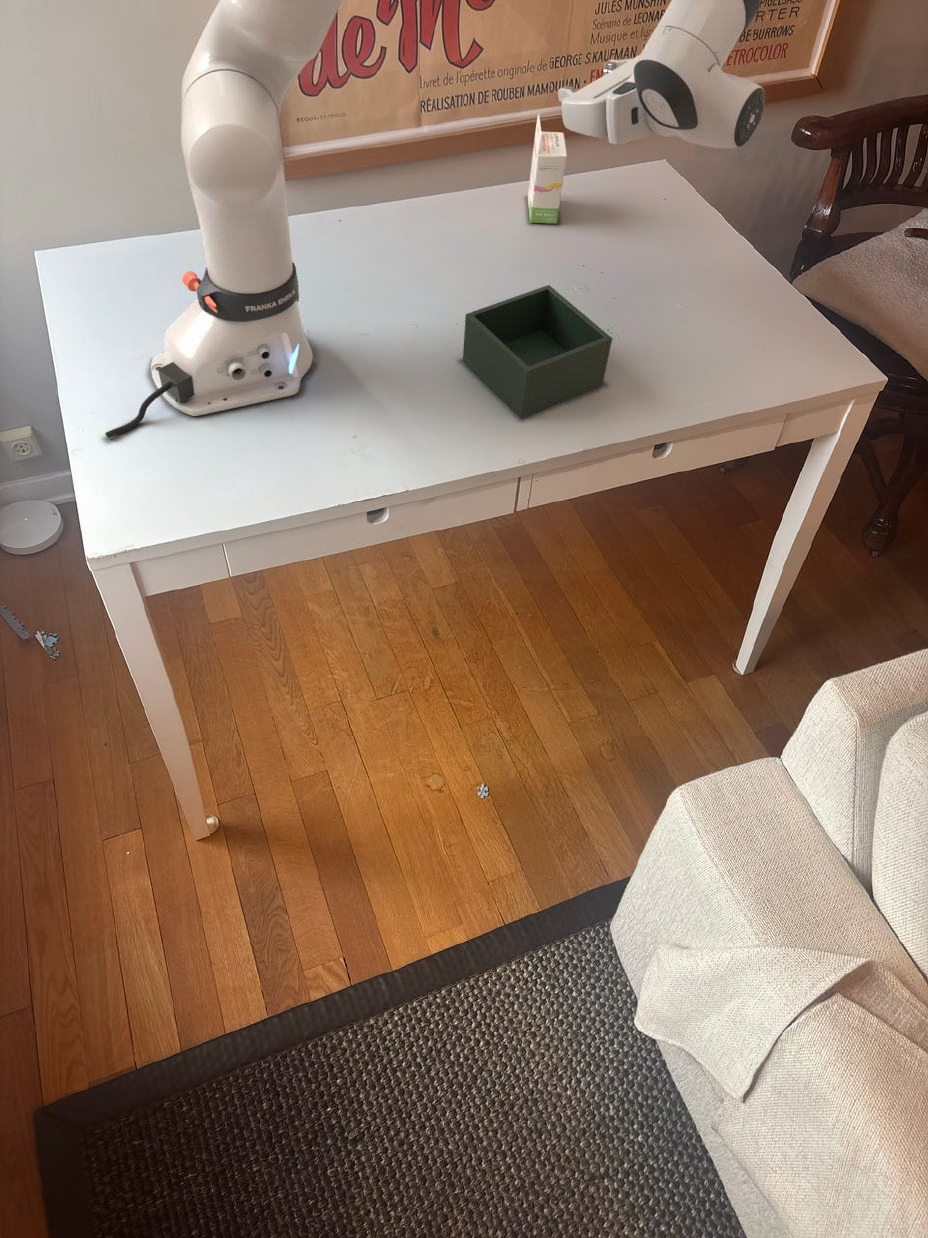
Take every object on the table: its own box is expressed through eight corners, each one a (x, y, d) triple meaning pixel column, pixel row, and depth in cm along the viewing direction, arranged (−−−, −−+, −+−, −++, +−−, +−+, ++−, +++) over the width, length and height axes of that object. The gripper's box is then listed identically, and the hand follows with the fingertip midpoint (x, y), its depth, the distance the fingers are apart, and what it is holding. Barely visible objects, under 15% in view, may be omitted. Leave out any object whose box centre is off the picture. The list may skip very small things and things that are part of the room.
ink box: (558, 224, 164) (570, 137, 153) (529, 223, 164) (539, 136, 152) (555, 198, 170) (566, 112, 158) (527, 197, 169) (536, 110, 158)
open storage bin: (521, 418, 133) (527, 371, 127) (462, 361, 140) (465, 313, 134) (602, 384, 139) (612, 338, 132) (542, 331, 146) (549, 284, 139)
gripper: (706, 42, 134) (631, 28, 142) (605, 102, 127) (532, 84, 135) (705, 90, 138) (633, 74, 146) (608, 150, 131) (537, 130, 139)
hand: (584, 79), depth 140 cm, fingers open, 8 cm apart
